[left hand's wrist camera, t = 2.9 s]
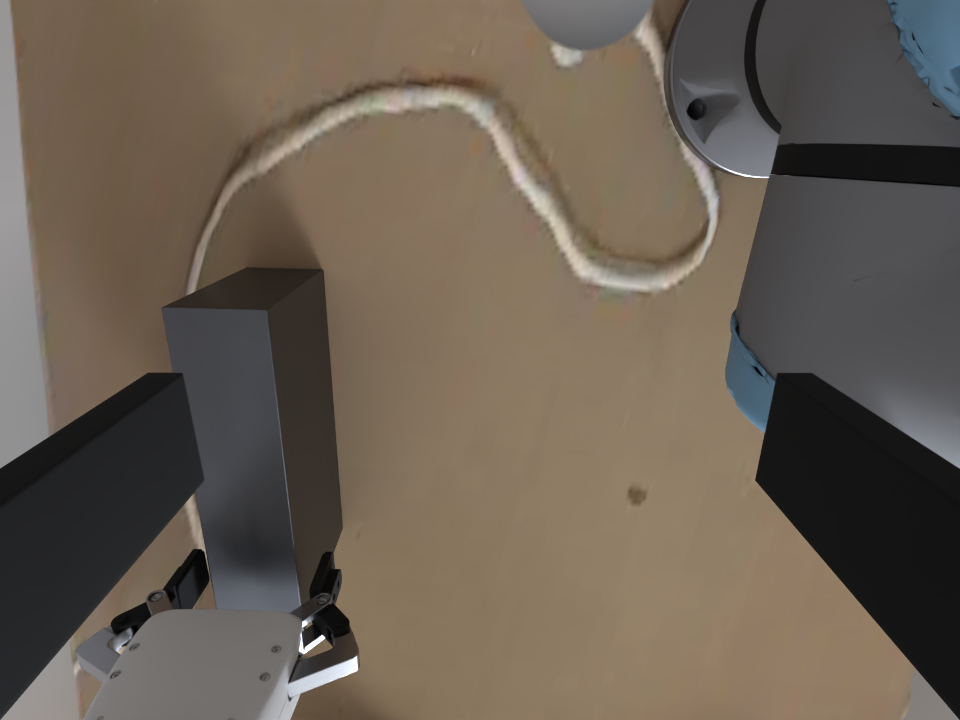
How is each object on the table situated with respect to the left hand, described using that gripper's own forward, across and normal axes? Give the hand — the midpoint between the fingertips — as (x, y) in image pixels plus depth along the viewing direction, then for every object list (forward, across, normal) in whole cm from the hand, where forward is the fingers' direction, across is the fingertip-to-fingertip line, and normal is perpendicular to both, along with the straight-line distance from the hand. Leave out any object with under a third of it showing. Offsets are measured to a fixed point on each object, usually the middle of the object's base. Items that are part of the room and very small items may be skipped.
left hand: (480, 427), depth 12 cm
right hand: (+22, -16, -23) cm, 36 cm away
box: (+32, -16, -15) cm, 39 cm away
